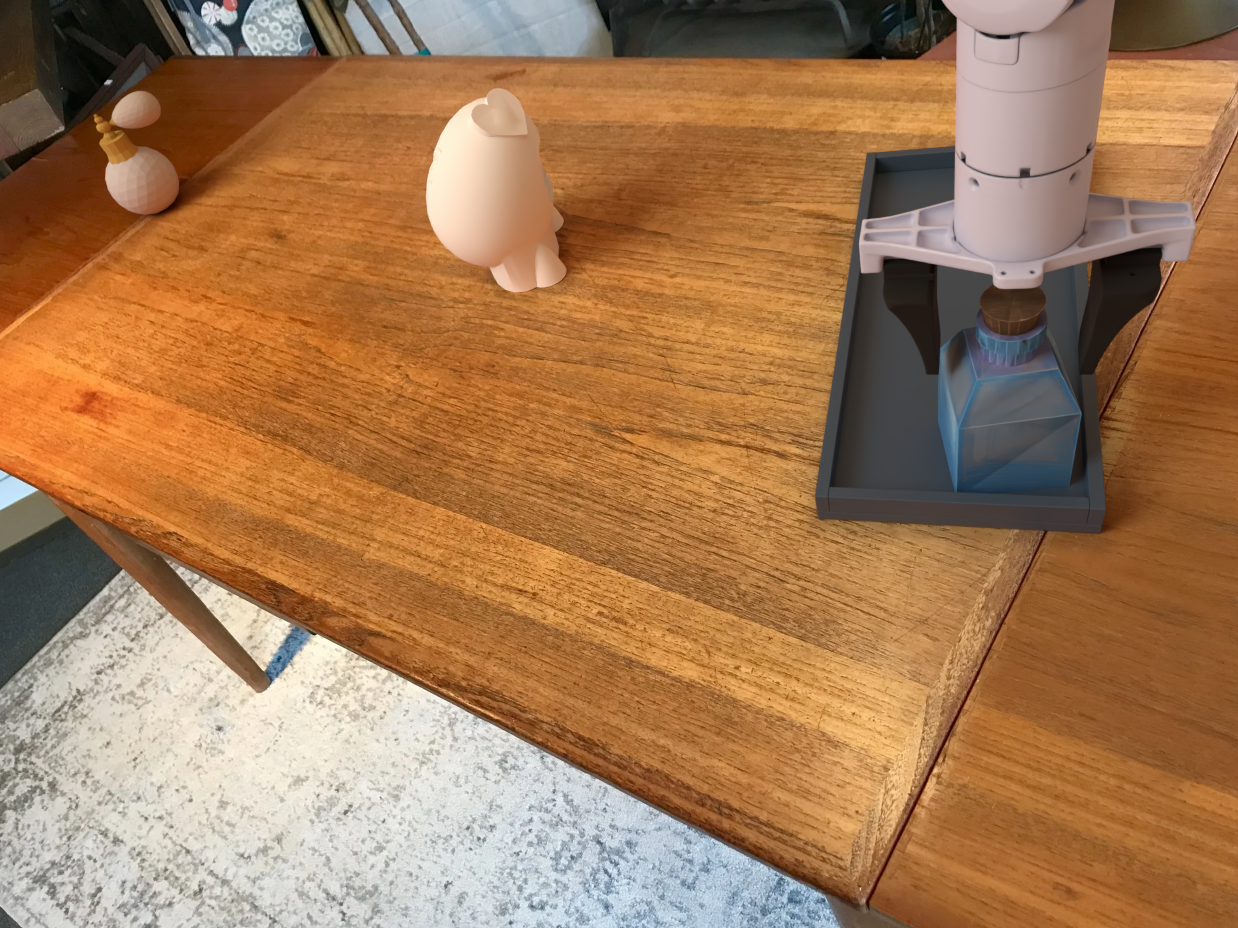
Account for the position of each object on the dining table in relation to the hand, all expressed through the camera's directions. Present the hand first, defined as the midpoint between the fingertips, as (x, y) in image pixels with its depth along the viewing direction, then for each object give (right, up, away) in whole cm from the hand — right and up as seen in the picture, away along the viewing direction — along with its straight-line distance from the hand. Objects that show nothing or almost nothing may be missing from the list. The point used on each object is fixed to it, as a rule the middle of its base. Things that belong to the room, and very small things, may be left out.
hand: (1007, 361), depth 51 cm
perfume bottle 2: (+2, -5, +6) cm, 8 cm away
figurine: (-30, +13, +33) cm, 46 cm away
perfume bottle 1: (-74, +25, +58) cm, 97 cm away
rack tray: (+3, +5, +14) cm, 15 cm away
